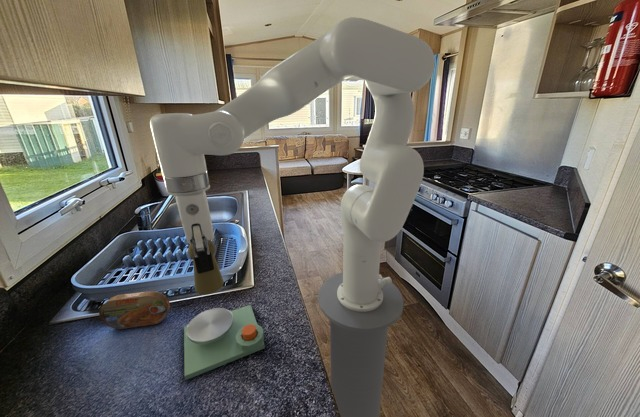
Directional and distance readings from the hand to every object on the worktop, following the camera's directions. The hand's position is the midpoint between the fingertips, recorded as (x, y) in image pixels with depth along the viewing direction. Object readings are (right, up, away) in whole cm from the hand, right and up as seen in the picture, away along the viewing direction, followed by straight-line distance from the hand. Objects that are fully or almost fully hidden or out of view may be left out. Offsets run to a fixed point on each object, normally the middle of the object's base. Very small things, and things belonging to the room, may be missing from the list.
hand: (204, 263), depth 56 cm
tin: (-21, -17, +10) cm, 29 cm away
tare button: (+9, -17, +2) cm, 19 cm away
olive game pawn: (0, -6, +2) cm, 6 cm away
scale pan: (-1, -16, +4) cm, 16 cm away
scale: (+2, -19, +5) cm, 19 cm away
